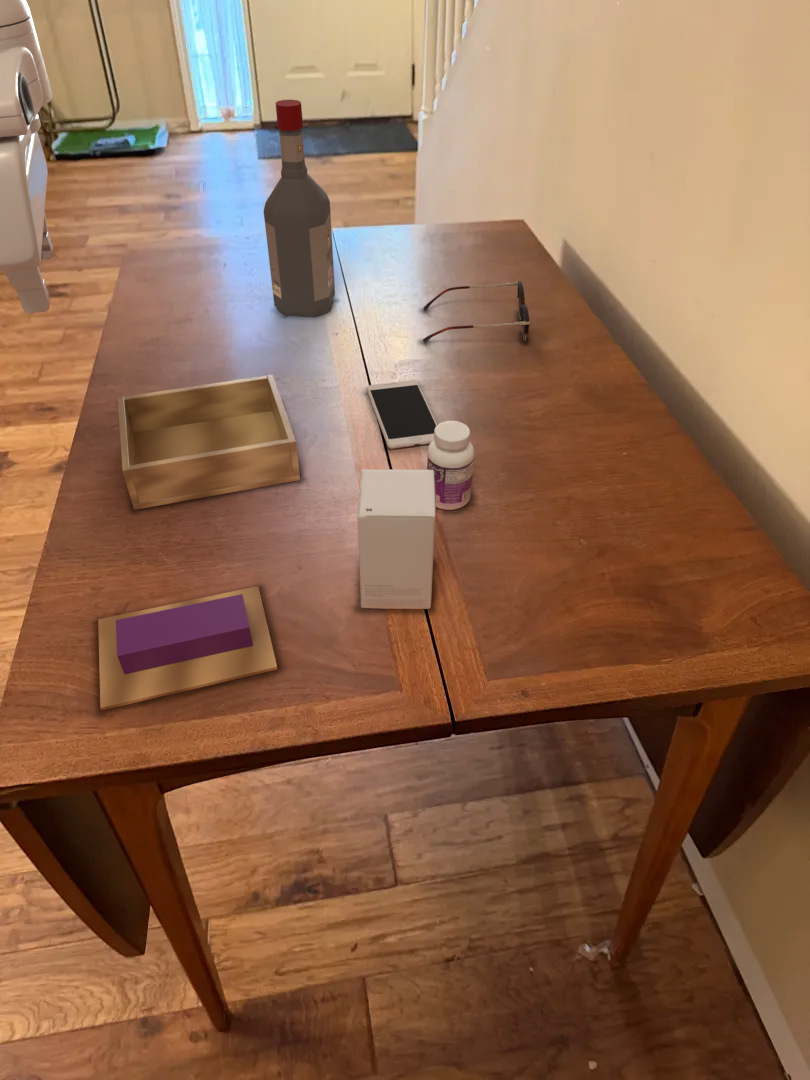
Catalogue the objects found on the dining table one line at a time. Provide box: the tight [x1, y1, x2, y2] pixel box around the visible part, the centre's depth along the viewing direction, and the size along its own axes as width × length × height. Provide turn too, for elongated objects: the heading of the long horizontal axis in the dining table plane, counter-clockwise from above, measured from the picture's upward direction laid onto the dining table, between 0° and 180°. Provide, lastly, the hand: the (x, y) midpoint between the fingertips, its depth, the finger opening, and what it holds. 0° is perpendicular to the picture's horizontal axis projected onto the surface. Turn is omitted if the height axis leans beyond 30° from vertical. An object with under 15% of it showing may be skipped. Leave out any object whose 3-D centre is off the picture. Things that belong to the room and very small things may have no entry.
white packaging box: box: [357, 468, 437, 610], centre depth 77 cm, size 7×7×13 cm
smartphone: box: [366, 379, 439, 450], centre depth 105 cm, size 8×1×15 cm
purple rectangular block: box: [116, 594, 253, 674], centre depth 74 cm, size 12×4×3 cm, turn 107°
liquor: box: [263, 99, 336, 318], centre depth 119 cm, size 9×9×30 cm
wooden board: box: [97, 585, 279, 711], centre depth 75 cm, size 16×11×1 cm
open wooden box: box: [117, 374, 301, 511], centre depth 96 cm, size 20×16×6 cm
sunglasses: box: [422, 280, 531, 343], centre depth 122 cm, size 14×16×5 cm
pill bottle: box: [426, 420, 475, 511], centre depth 89 cm, size 5×5×10 cm
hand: (40, 281), depth 59 cm, fingers open, 8 cm apart
